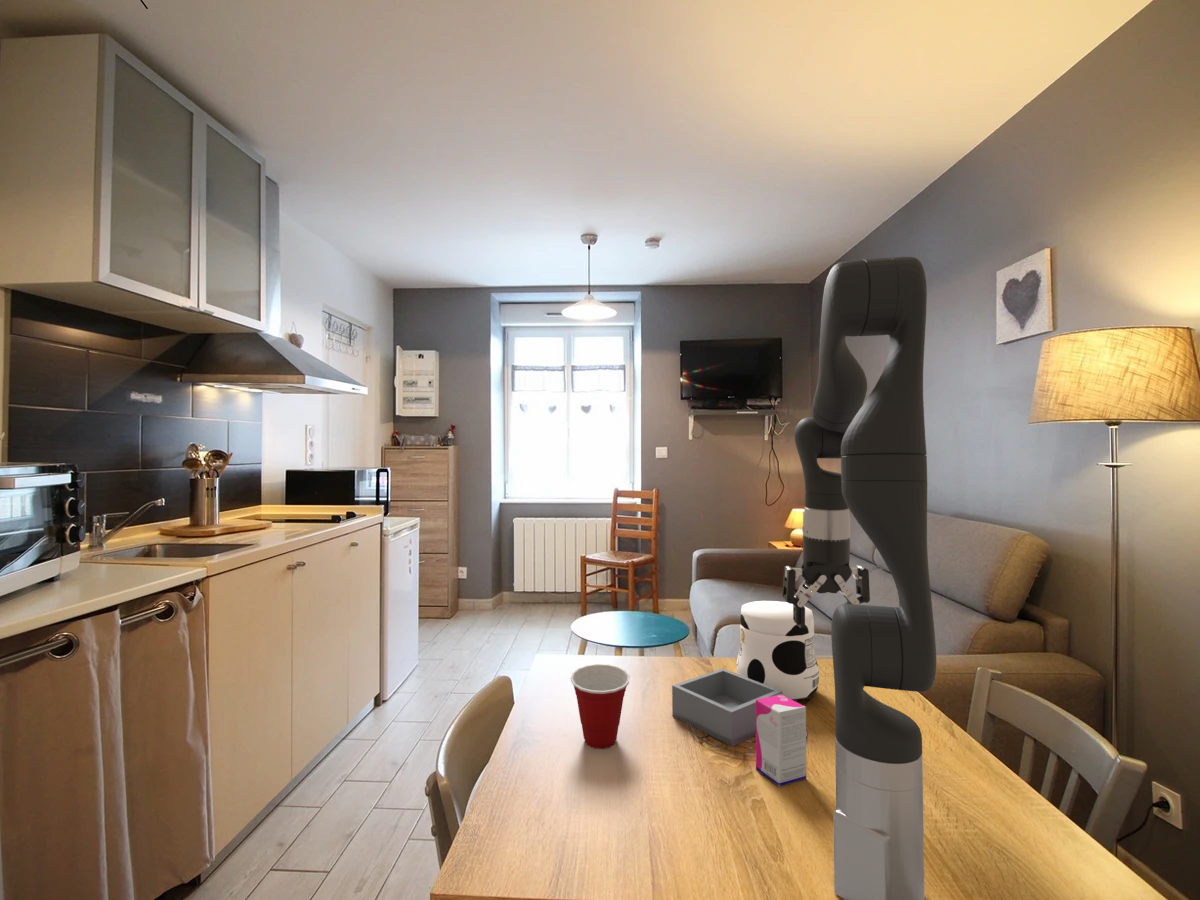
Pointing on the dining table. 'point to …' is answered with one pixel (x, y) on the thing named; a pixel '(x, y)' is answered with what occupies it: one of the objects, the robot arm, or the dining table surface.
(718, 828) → the dining table surface
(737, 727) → the box
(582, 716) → the plastic cup
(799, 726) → the supplement box
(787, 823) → the dining table surface
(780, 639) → the milk container
